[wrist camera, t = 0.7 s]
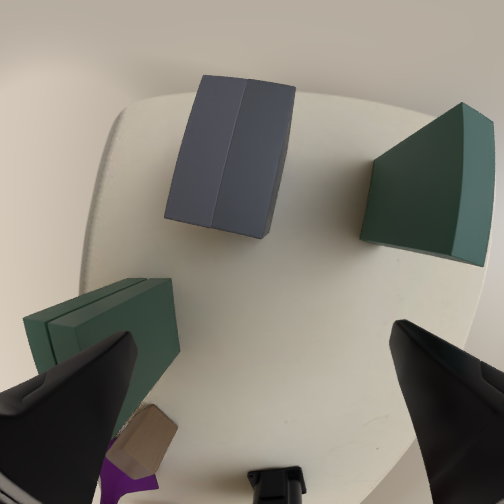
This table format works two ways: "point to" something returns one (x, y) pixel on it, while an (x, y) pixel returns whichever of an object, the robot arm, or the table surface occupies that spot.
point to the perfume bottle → (121, 482)
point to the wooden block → (143, 443)
